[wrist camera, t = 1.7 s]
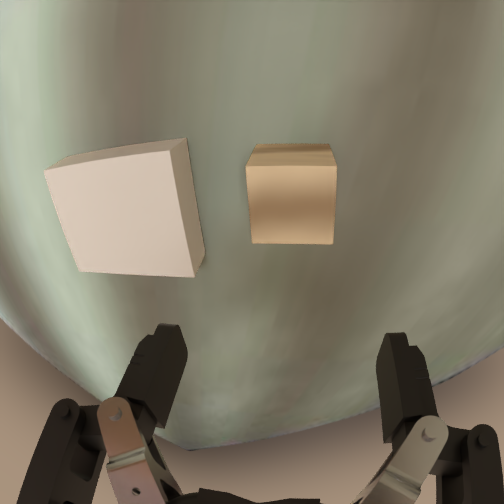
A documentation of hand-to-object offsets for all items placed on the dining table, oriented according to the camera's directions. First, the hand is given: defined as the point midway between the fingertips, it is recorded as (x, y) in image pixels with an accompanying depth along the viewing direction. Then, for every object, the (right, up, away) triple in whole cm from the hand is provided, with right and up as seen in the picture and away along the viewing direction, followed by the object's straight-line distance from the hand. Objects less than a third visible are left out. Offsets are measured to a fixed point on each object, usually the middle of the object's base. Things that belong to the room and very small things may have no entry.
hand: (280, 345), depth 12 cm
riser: (-13, +9, +18) cm, 24 cm away
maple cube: (+3, +10, +15) cm, 18 cm away
